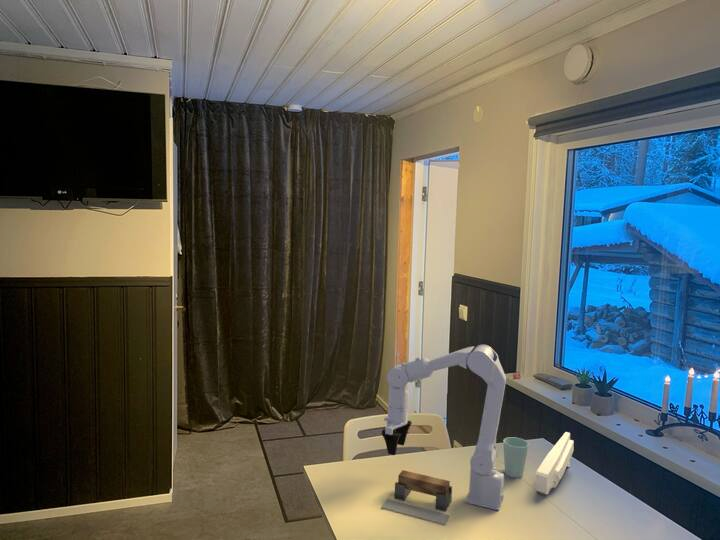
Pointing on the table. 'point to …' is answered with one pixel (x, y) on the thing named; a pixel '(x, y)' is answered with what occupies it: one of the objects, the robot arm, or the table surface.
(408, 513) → the mat
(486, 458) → the robot arm
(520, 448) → the cup
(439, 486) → the rail
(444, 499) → the post
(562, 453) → the shelf bracket
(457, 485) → the table surface
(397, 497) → the post
